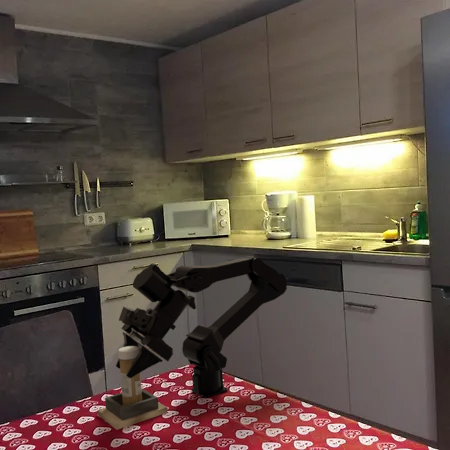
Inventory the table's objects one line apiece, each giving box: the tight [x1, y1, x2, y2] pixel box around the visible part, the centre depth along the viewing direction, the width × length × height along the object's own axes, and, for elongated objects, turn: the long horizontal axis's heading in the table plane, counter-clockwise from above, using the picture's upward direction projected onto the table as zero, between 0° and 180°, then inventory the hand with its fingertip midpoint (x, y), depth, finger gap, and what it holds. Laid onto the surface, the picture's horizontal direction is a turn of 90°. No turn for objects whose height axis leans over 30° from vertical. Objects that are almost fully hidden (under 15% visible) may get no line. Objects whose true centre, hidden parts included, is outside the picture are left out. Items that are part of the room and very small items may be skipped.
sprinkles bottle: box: [117, 346, 143, 407], centre depth 120 cm, size 5×5×13 cm
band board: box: [97, 388, 168, 431], centre depth 121 cm, size 12×10×4 cm
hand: (122, 372), depth 119 cm, fingers open, 7 cm apart
